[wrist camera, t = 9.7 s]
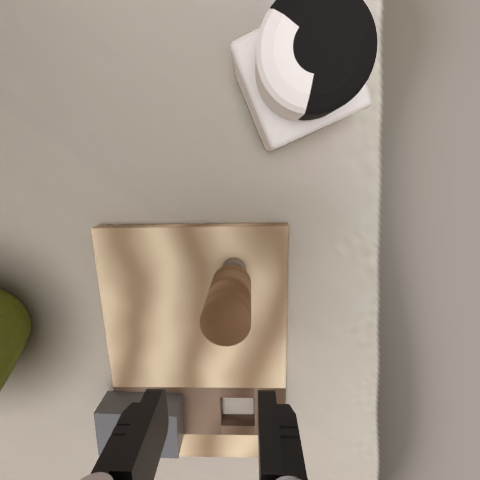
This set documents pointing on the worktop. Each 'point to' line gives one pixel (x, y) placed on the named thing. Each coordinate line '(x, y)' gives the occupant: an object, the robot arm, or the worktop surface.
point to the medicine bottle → (305, 66)
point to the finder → (121, 400)
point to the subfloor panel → (194, 322)
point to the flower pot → (12, 333)
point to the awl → (228, 305)
